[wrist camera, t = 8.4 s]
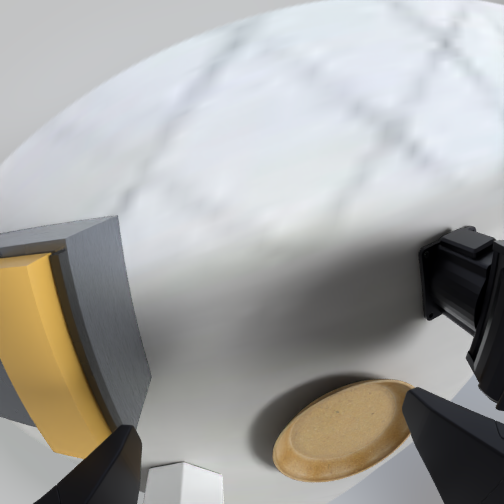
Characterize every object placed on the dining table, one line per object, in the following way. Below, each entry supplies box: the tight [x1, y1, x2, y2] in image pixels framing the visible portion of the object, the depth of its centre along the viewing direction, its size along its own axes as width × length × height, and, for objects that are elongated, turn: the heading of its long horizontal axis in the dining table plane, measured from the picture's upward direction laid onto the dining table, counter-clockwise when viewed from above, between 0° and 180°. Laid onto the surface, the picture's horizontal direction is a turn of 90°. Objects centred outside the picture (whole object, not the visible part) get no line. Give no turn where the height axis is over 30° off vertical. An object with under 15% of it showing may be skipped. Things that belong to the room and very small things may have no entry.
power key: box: [0, 253, 112, 459], centre depth 11 cm, size 4×11×2 cm, turn 4°
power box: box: [0, 215, 151, 433], centre depth 15 cm, size 13×12×8 cm
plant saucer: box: [272, 379, 415, 482], centre depth 23 cm, size 15×15×3 cm
